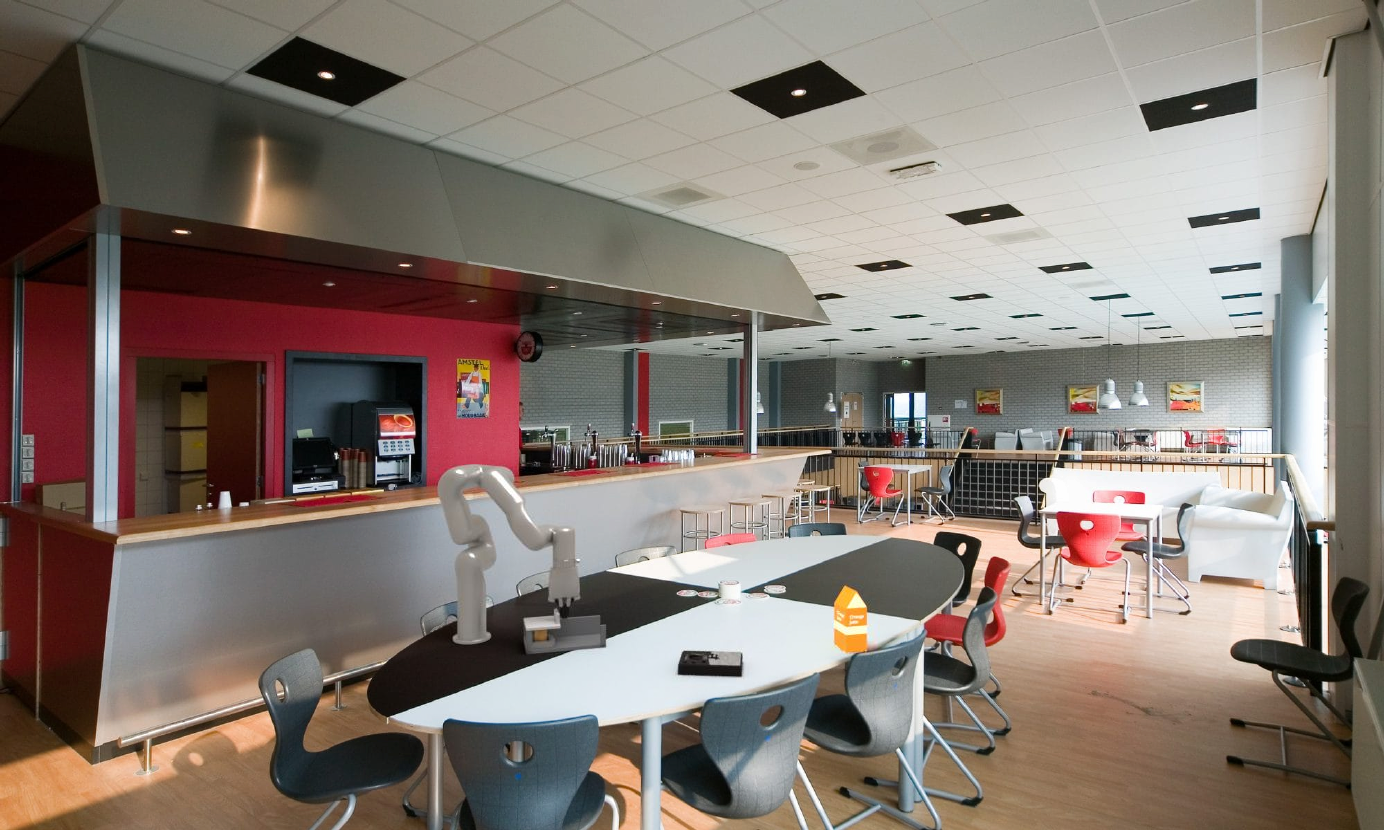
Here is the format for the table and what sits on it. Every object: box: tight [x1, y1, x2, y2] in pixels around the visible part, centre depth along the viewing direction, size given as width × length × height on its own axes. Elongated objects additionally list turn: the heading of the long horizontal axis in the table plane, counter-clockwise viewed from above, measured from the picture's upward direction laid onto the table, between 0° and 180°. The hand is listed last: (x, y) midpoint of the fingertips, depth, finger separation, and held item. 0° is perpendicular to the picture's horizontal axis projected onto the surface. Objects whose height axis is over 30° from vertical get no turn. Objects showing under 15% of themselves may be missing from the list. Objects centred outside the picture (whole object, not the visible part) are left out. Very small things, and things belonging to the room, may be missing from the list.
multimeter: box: [677, 650, 744, 678], centre depth 230 cm, size 13×19×5 cm
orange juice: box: [833, 585, 868, 653], centre depth 249 cm, size 8×9×20 cm
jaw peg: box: [535, 629, 547, 642], centre depth 250 cm, size 4×4×5 cm
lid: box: [523, 608, 561, 631], centre depth 250 cm, size 13×11×4 cm
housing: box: [523, 614, 607, 655], centre depth 252 cm, size 13×26×7 cm, turn 106°
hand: (564, 617), depth 252 cm, fingers closed
